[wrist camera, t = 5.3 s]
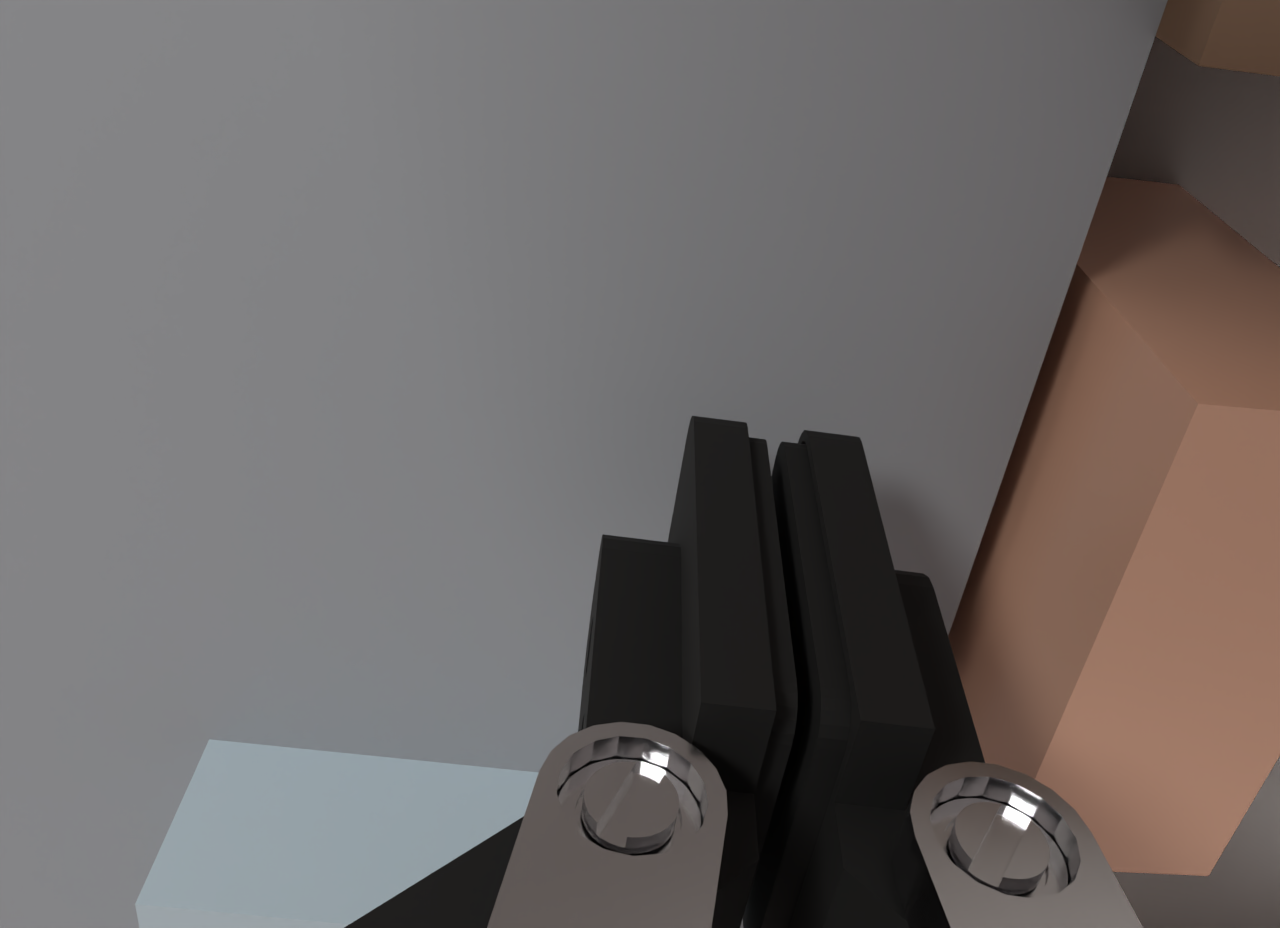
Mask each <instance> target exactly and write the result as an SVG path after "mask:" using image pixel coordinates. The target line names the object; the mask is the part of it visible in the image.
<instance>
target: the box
mask: <svg viewBox="0 0 1280 928" xmlns="http://www.w3.org/2000/svg"><path fill="white" fill-rule="evenodd" d="M1155 37H1157V38H1158V39H1160V40H1161V41H1163V42H1164V43H1166V44H1167V45H1169V46H1170V47H1171V48H1173V49H1174V50H1176V51H1177V52H1179V53H1180V54H1182V55H1183V56H1185V57H1186V58H1187V59H1189V60H1190V61H1192V62H1193V63H1195V64H1196V65H1198V66H1202V67H1210V68H1218V69H1226V70H1233V71H1241V72H1249V73H1256V74H1264V75H1272V76H1280V0H1168V1H1167V4H1166V7H1165V10H1164V12H1163V15H1162V18H1161V21H1160V24H1159V27H1158V30H1157V33H1156V36H1155Z"/></svg>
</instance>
